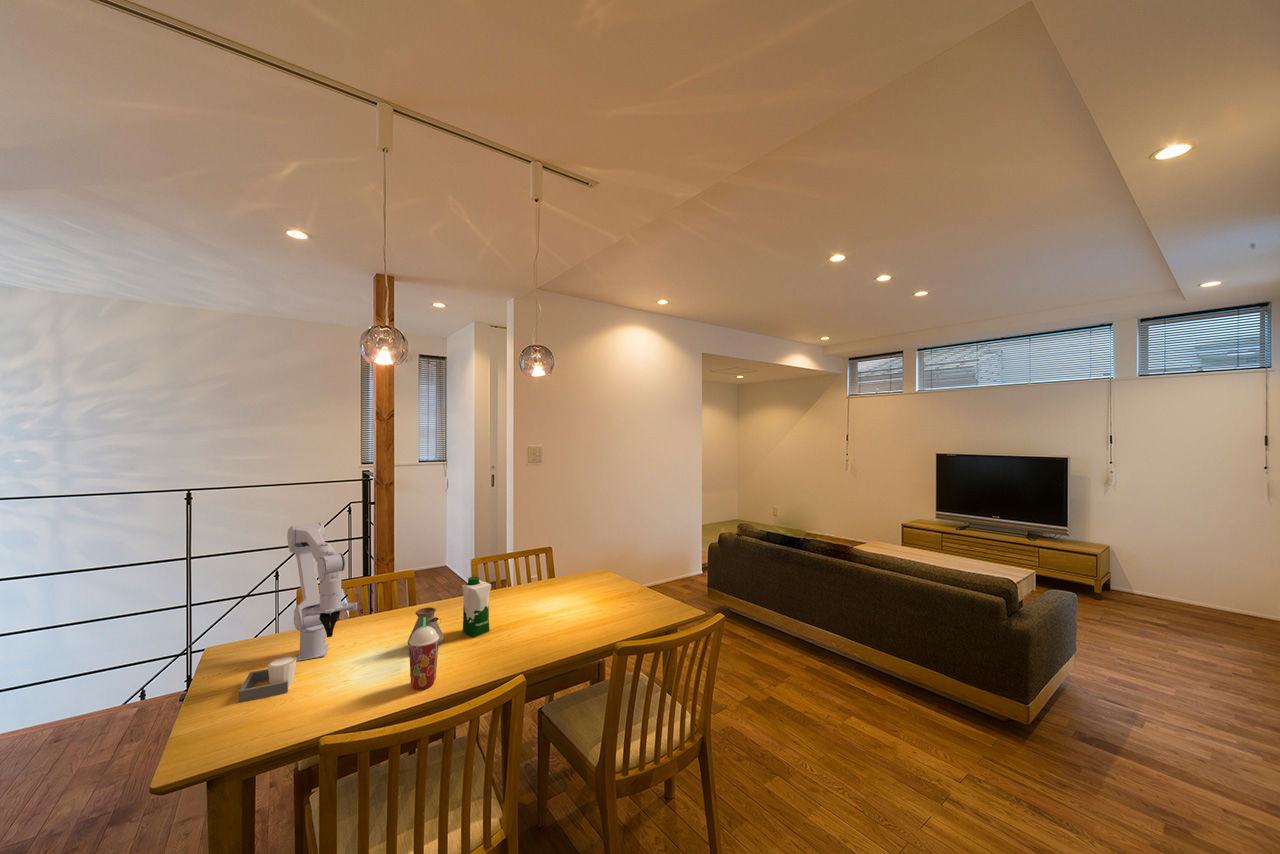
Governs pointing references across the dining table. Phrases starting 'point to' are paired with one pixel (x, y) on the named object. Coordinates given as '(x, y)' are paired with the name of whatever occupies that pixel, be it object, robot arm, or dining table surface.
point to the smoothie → (423, 656)
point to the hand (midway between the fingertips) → (329, 635)
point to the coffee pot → (427, 621)
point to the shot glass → (282, 670)
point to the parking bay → (260, 687)
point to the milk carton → (476, 607)
